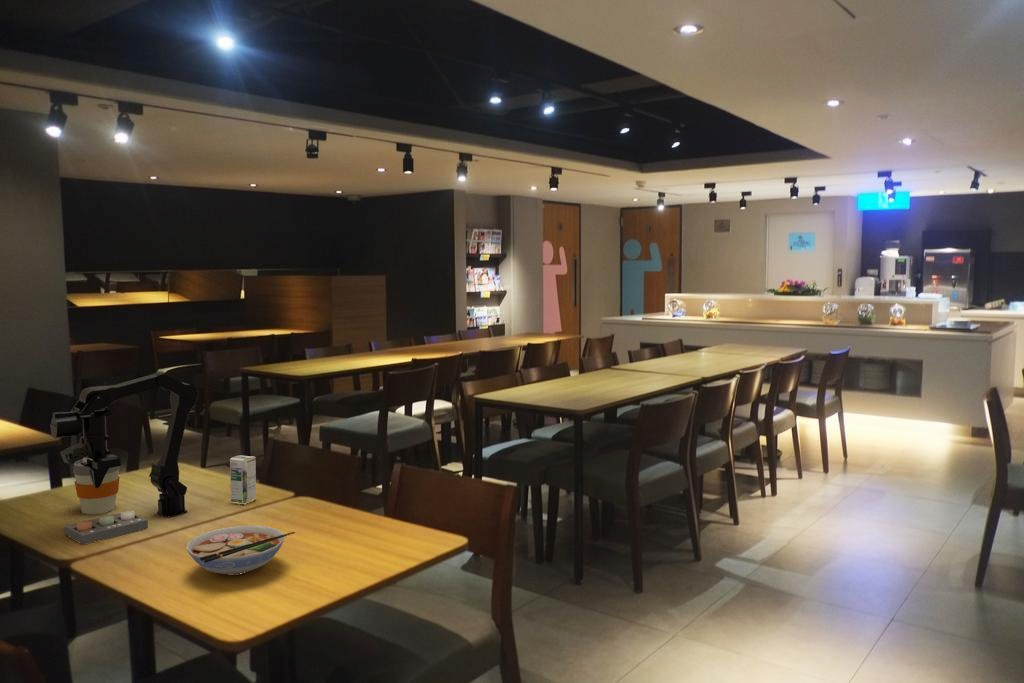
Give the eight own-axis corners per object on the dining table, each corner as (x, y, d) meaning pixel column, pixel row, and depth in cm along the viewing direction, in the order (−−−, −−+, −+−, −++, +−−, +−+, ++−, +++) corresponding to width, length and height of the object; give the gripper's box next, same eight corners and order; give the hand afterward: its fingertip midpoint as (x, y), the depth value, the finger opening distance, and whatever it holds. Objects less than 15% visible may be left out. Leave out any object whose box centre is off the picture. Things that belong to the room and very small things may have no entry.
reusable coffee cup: (130, 504, 240) (128, 457, 239) (105, 517, 228) (103, 467, 226) (92, 502, 242) (90, 455, 240) (65, 515, 229) (63, 465, 228)
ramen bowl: (256, 545, 206) (255, 515, 205) (307, 566, 192) (307, 534, 191) (164, 573, 187) (163, 540, 186) (214, 599, 173) (213, 563, 172)
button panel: (128, 519, 226) (128, 510, 226) (147, 528, 218) (147, 519, 218) (65, 534, 213) (64, 525, 212) (83, 544, 205) (82, 535, 205)
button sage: (110, 525, 218) (110, 514, 218) (116, 527, 216) (115, 517, 215) (97, 528, 215) (96, 517, 215) (102, 531, 213) (102, 520, 213)
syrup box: (230, 504, 242) (228, 458, 240) (241, 498, 247) (240, 454, 246) (245, 505, 240) (244, 460, 239) (257, 500, 246) (256, 455, 244)
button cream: (131, 520, 222) (131, 509, 222) (137, 522, 220) (136, 512, 220) (118, 523, 220) (118, 512, 219) (124, 525, 217) (124, 515, 217)
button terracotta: (89, 530, 214) (88, 519, 213) (94, 533, 211) (94, 522, 211) (75, 533, 211) (74, 522, 210) (80, 536, 208) (80, 525, 208)
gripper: (50, 432, 214) (52, 487, 216) (77, 442, 203) (79, 500, 204) (92, 426, 223) (94, 479, 224) (121, 436, 211) (123, 491, 213)
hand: (96, 487), depth 216 cm, fingers closed
